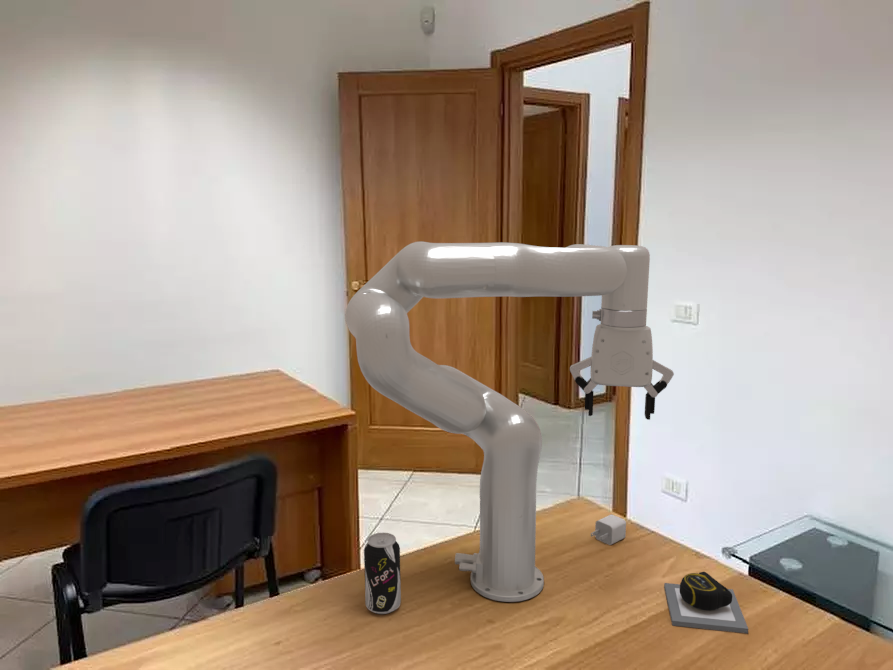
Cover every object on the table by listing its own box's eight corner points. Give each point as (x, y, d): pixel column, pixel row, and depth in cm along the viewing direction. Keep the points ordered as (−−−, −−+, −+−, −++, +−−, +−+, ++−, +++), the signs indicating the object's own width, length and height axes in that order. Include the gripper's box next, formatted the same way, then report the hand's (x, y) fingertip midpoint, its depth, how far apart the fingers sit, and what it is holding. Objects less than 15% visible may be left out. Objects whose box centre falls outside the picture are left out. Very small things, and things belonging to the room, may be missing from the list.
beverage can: (365, 618, 107) (363, 548, 105) (366, 598, 113) (364, 531, 111) (401, 616, 108) (400, 546, 106) (400, 596, 113) (399, 529, 111)
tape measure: (733, 611, 107) (735, 589, 106) (696, 618, 105) (697, 596, 105) (706, 588, 114) (707, 568, 113) (670, 594, 112) (671, 573, 111)
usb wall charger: (625, 539, 133) (626, 520, 132) (603, 550, 128) (604, 531, 127) (608, 532, 136) (609, 513, 135) (586, 542, 131) (587, 523, 131)
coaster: (672, 625, 105) (672, 620, 105) (664, 587, 116) (664, 582, 115) (747, 633, 103) (748, 628, 103) (732, 593, 114) (732, 588, 113)
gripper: (570, 320, 113) (567, 418, 116) (679, 324, 110) (672, 425, 113) (572, 313, 120) (569, 406, 123) (674, 317, 117) (668, 412, 120)
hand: (618, 415), depth 118 cm, fingers open, 9 cm apart
